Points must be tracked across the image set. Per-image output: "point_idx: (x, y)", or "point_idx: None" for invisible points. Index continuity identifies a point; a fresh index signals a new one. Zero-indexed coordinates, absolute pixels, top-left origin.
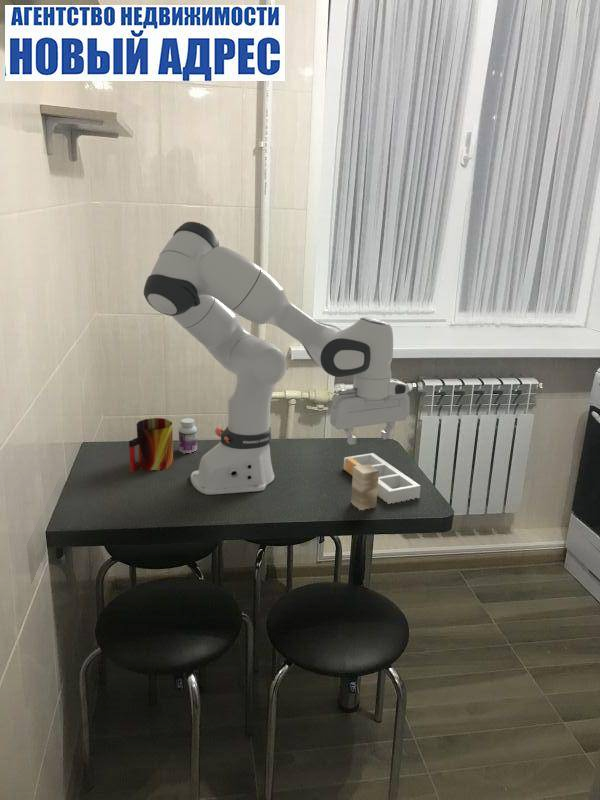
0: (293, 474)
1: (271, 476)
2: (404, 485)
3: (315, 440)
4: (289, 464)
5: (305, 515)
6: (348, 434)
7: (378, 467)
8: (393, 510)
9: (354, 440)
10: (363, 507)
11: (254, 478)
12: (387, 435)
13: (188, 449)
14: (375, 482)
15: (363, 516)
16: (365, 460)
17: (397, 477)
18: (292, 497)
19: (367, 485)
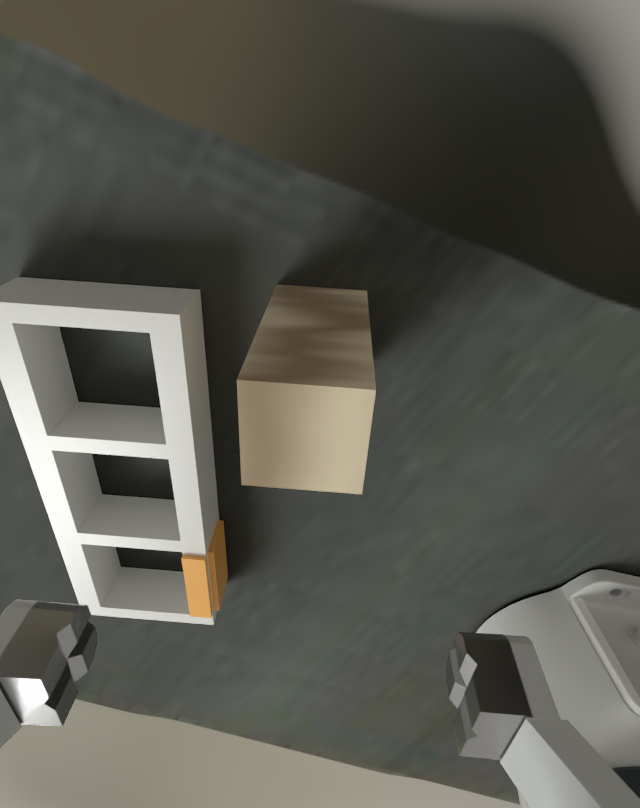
0: (412, 611)
1: (521, 619)
2: (53, 377)
3: (212, 723)
4: (379, 656)
5: (615, 359)
6: (624, 794)
7: (110, 528)
8: (208, 222)
9: (496, 676)
10: (348, 294)
11: (616, 625)
12: (21, 639)
13: None
14: (272, 343)
15: (387, 234)
16: (129, 590)
17: (63, 430)
18: (539, 496)
19: (331, 342)
